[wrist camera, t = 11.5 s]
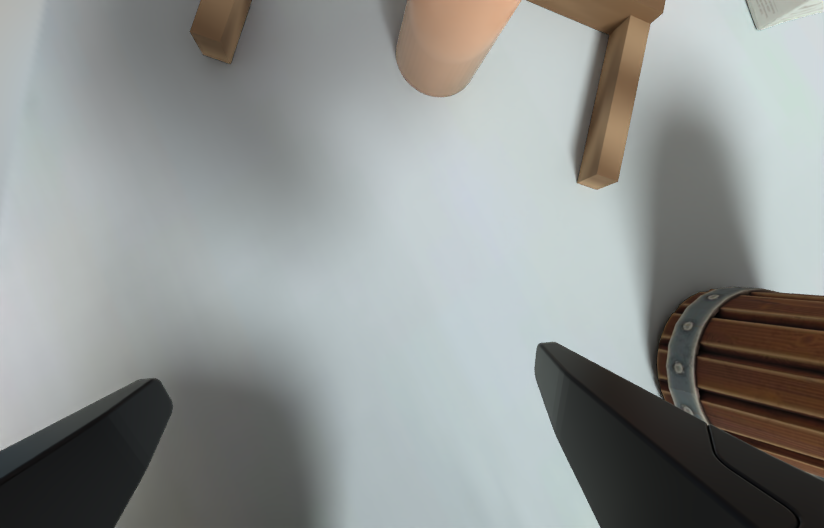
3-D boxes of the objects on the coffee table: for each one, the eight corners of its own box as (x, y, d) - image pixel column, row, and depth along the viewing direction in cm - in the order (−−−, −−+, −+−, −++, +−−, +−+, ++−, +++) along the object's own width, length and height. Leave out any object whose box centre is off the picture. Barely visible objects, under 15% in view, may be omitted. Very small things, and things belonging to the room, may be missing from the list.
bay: (596, 189, 26) (629, 176, 23) (203, 54, 22) (182, 17, 19) (633, 17, 27) (668, -16, 24) (270, -140, 23) (260, -202, 20)
